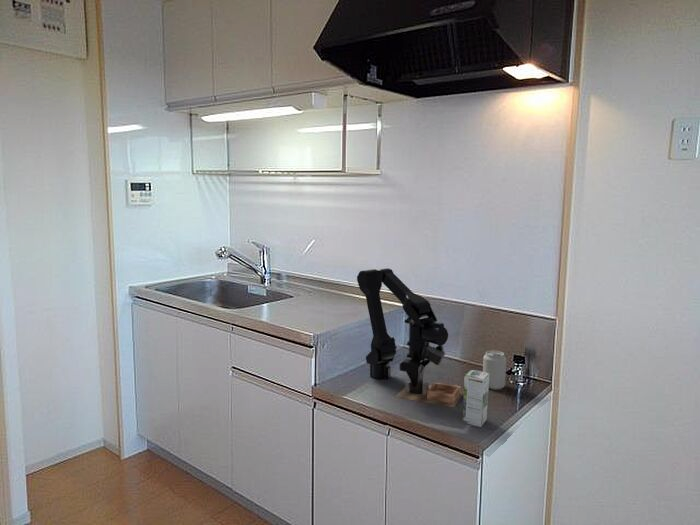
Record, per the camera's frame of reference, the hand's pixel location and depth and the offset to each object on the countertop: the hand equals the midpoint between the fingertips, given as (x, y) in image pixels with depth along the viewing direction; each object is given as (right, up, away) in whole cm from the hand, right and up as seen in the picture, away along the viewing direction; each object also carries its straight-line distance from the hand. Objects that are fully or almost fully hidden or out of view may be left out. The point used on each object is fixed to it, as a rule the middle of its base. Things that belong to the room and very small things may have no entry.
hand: (417, 384), depth 170 cm
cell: (0, -3, 0) cm, 2 cm away
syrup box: (+14, -7, -19) cm, 25 cm away
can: (+27, -3, +8) cm, 28 cm away
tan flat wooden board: (+4, -4, -1) cm, 6 cm away
